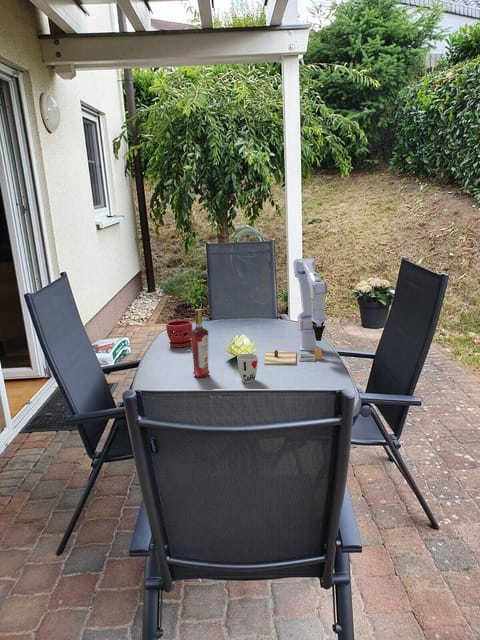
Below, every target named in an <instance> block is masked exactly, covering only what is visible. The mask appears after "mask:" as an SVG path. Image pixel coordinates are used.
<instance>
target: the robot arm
mask: <svg viewBox="0 0 480 640" xmlns="http://www.w3.org/2000/svg"><path fill="white" fill-rule="evenodd" d="M292 267H293V274H294V277H295V278H296V279H297V280H298V283H299V284H298V285H299V293H300V300H301V301H300V302H301V309H302V311H301V312H299V314H298V315H297V324H296V325H297V328H298V330H299V331H300V345H299V348H300V349H299V350H300V351H314V352H315V347H318V346H317V342H321V341H322V340H323V339H322V338H323V333H324V330H325V328H326V325H324V324H325V321H328V317H326V295H327V293H328V284H327V282H326V281H324V280H322V278H321V276H320V274H319V273H318V272H316V268H317V263H316V259H315V258H314V257H311V258H295V259H294V260H293V266H292Z"/></svg>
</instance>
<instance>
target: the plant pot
mask: <svg viewBox="0 0 480 640" xmlns="http://www.w3.org/2000/svg"><path fill="white" fill-rule="evenodd" d="M165 329H166V335H167V338H168V339H169V345H170V346H171V347H173V348H185V347H189V346H190V345H192V344H191V333H190V332H191V331H192V330H193V322H192V321H191V320H172V321H169V322H166V324H165Z"/></svg>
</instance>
